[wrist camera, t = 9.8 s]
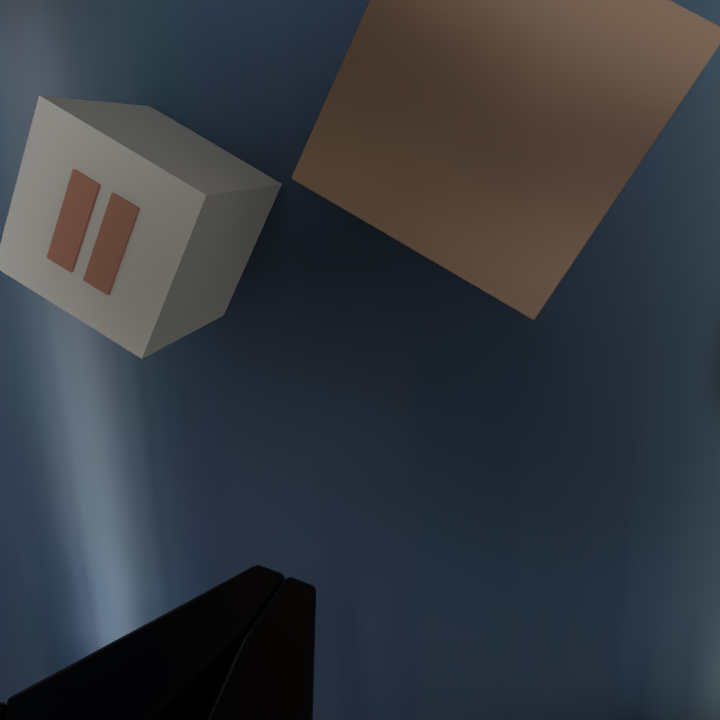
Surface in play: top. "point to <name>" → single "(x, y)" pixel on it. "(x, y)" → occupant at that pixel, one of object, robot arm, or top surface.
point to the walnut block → (500, 126)
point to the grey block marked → (131, 220)
